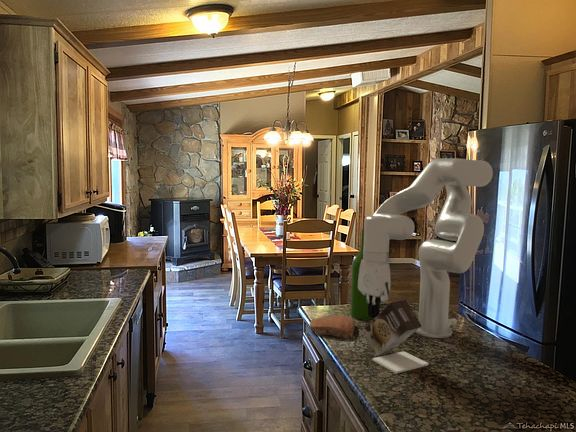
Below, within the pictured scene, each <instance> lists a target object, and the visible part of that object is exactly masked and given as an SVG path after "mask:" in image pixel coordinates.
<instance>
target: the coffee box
mask: <svg viewBox="0 0 576 432" xmlns="http://www.w3.org/2000/svg"><path fill="white" fill-rule="evenodd" d="M421 326H422V325H421V324H420V322H419V318H417V316H416V314H415V313H414V310H413V309H412V307H411V306H410V304H409V302H408V301H407V299H402V300H401V299H400V300H397V301H392V302H390V303H389V304H388V305H387V306H386V307H385V308H384V309H383V310H381V311H380V312H379V315H378V316H377V317H374V318H373V319H371V321H370V322H369V323H368V324H367V325H366V326H365V327H364V328H363V329H362V330H363V333H364V334H365V336H366V338H367V340H368V342H369V343H370V345H371V348H372V350H373V351H374V353H375V356H377V357H380V356H383V355H387V354H389V353H392V351H393V350H395V349H396V348H397V347H398V346H400V345H401V344H402V343H403V342H405V341H406V340H407V339H408V338H409V337H410V336H411V335H413V334H414V333H415V331H416V330H418V329H419V328H420V327H421Z"/></svg>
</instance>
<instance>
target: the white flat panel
mask: <svg viewBox="0 0 576 432" xmlns="http://www.w3.org/2000/svg"><path fill="white" fill-rule="evenodd" d="M372 362H374V363H375V364H378V365H380V366H382V367H383V368H386V370H389V371H391V372H393V373H395V374H400V373H403V372H407V371H411V370H416V369H419V368H420V369H421V368H424V367H427V366H429V362H427V361H425V360H423V359H420V358H419V357H416V356H414V355H412V354H410V353H408V352H406V351H404V350H403V351H402V350H401V351H400V352H399V351H398V352H395V353H390V354H389V353H388V354H384V355H380V356H377V357H373V358H372Z"/></svg>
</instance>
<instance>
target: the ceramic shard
mask: <svg viewBox="0 0 576 432" xmlns="http://www.w3.org/2000/svg"><path fill="white" fill-rule="evenodd" d="M355 327H356V322H355V318H354V319H353V317H352V316H351V317H350V316H349V315H348V316H347V315H343V314H342V315H341V314H340V315H339V314H334V315H331V314H330V315H325V316H321V317H317V318H314V319H312V320H310V322H309V328H310V329H311V331H312V332H313V333H315V334H316V335H317V336H333V337H337V338H343V339H348V340H350V339H352V338H353V335H354V331H355Z"/></svg>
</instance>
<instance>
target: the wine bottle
mask: <svg viewBox="0 0 576 432" xmlns="http://www.w3.org/2000/svg"><path fill="white" fill-rule="evenodd" d="M360 240H361V241H360V242H361V245H360V250H359V252H358V254H356V257H355V258H354V259H353V261H352V265H351V267H352V268H351V269H352V271H351V297H350V299H351V300H350V301H351V302H350V316H351V318H352V319H353V318H354V319H356V320H365V321H366V320H373V319H375V317H373V318H371V317H369V316H368V304H369V303H367V298H366V296H365V295H363V294H362V293H361V291H359V289H358V277H359V269H360V264H361V261H362V260H363V248H364V228H363V229H361V239H360Z"/></svg>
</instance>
